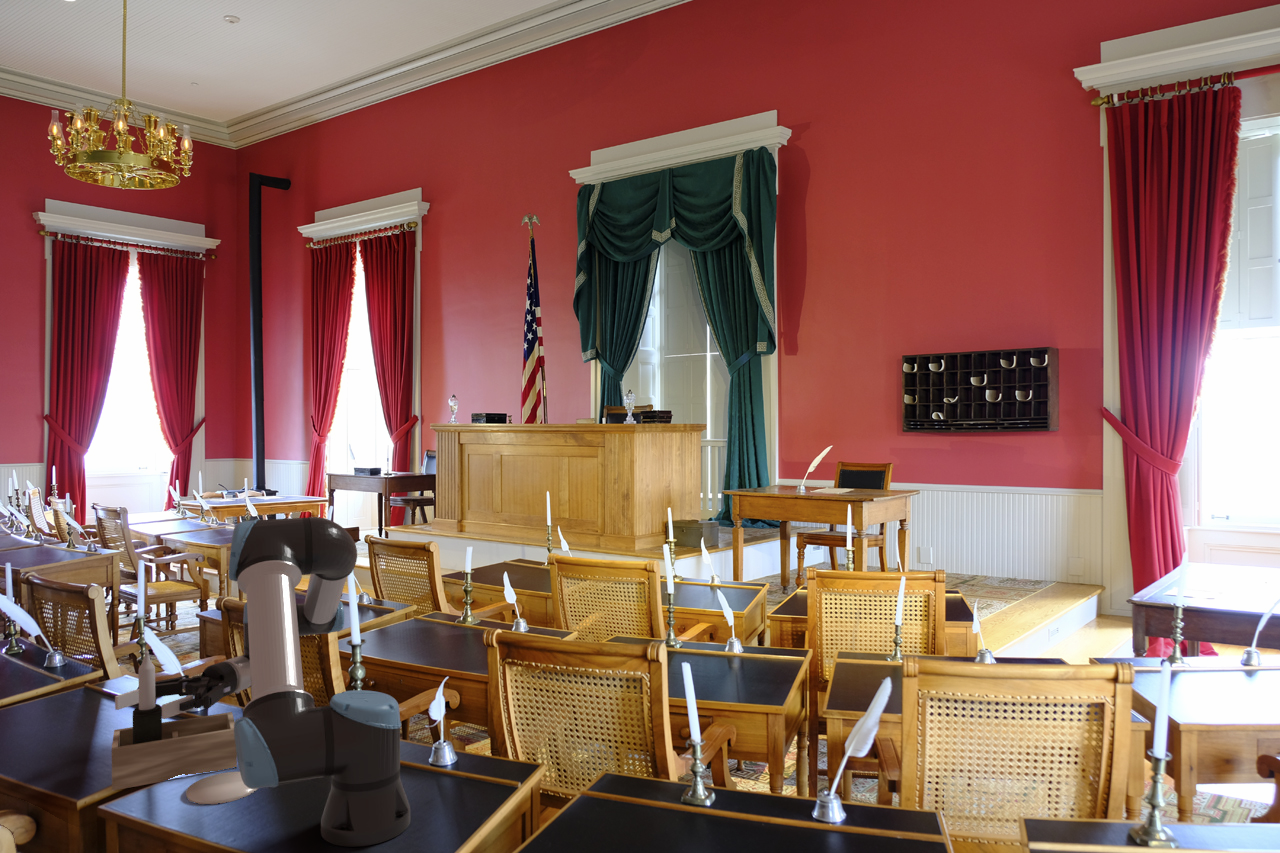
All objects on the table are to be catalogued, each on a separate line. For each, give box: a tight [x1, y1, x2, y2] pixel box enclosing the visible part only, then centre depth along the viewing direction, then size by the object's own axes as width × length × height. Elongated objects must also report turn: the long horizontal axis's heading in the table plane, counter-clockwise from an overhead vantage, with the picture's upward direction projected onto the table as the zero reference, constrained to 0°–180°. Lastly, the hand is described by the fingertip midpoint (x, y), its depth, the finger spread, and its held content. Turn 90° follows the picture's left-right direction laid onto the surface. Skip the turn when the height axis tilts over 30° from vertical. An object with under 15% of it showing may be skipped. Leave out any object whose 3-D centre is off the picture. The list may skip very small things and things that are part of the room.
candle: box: [132, 650, 163, 744], centre depth 176 cm, size 5×5×25 cm
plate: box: [185, 771, 259, 805], centre depth 168 cm, size 13×13×1 cm
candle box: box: [111, 711, 238, 792], centre depth 178 cm, size 12×22×8 cm, turn 119°
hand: (139, 707), depth 174 cm, fingers open, 13 cm apart
